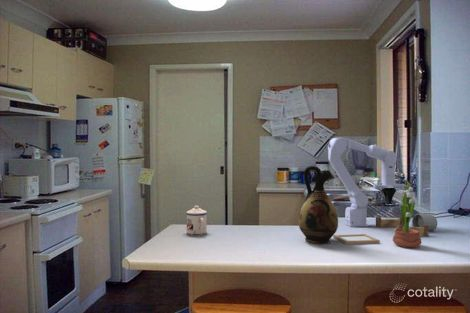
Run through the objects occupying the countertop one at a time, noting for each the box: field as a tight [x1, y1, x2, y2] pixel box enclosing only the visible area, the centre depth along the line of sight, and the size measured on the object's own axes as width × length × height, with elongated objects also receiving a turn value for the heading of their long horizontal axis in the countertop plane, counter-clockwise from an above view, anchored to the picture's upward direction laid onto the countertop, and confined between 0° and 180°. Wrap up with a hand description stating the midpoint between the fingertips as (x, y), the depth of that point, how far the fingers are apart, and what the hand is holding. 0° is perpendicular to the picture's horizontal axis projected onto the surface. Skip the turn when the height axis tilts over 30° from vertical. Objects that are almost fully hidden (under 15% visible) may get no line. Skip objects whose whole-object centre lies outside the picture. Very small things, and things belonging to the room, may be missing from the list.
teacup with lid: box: [185, 205, 208, 235], centre depth 165 cm, size 12×9×12 cm
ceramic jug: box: [297, 165, 339, 245], centre depth 152 cm, size 17×15×30 cm
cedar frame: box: [375, 216, 429, 237], centre depth 172 cm, size 13×21×4 cm, turn 5°
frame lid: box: [332, 233, 380, 246], centre depth 153 cm, size 14×11×1 cm
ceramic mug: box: [411, 213, 438, 232], centre depth 175 cm, size 11×8×8 cm
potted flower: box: [392, 180, 422, 249], centre depth 145 cm, size 12×10×25 cm
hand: (388, 203), depth 185 cm, fingers closed
